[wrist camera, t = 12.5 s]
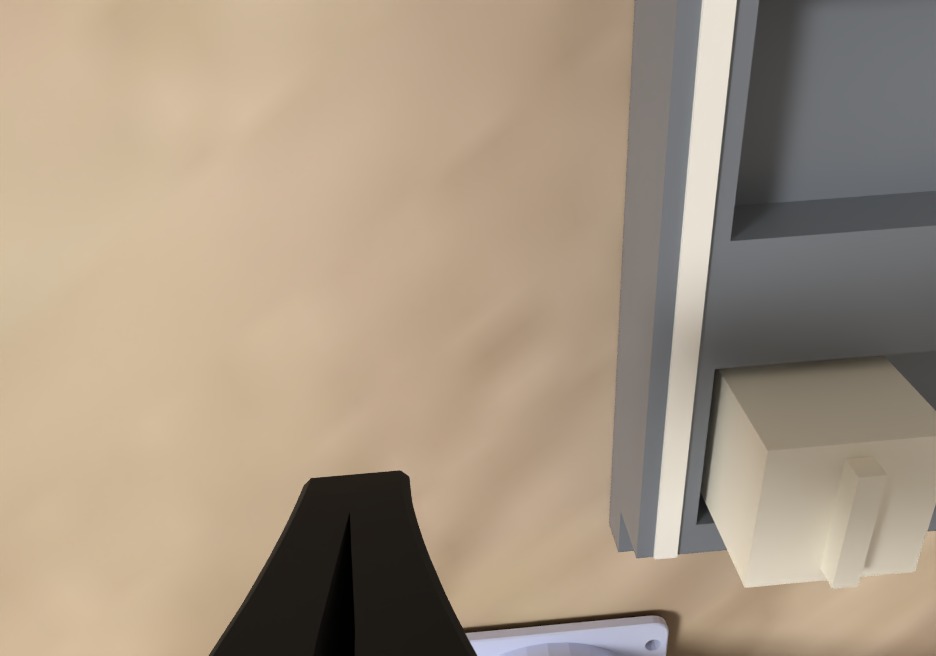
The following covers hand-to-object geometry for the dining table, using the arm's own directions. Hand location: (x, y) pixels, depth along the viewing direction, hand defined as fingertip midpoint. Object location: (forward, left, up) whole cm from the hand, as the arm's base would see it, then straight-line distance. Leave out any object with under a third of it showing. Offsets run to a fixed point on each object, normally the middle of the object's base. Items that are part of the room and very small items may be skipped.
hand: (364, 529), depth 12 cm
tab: (-5, -10, -8) cm, 14 cm away
